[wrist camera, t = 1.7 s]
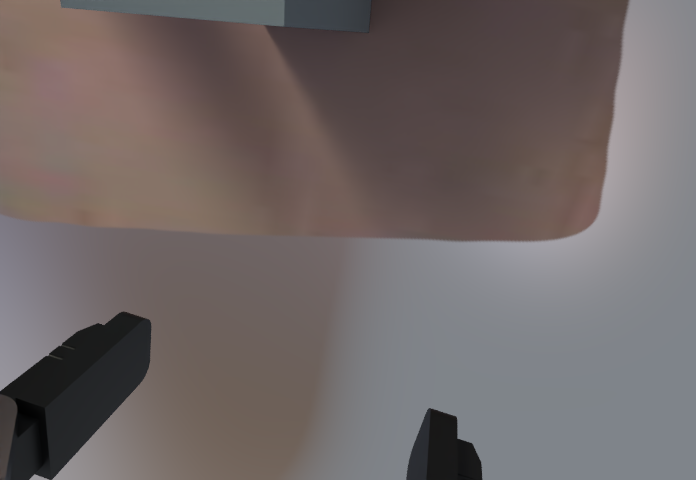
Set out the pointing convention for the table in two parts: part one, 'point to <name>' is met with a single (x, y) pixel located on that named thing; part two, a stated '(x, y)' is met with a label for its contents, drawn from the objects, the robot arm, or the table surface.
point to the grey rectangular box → (247, 11)
